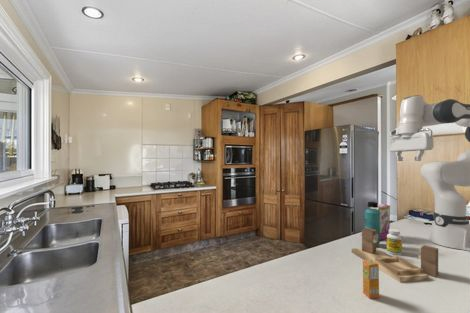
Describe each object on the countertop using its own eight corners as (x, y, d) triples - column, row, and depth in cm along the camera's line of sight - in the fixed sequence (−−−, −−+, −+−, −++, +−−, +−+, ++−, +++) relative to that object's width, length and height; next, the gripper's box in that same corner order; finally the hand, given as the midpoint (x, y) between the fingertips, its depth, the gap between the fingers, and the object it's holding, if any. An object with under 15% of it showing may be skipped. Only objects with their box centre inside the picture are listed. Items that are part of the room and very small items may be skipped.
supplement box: (361, 292, 70) (361, 259, 70) (372, 291, 71) (372, 259, 71) (368, 299, 67) (369, 264, 67) (379, 298, 67) (380, 264, 67)
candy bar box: (378, 241, 113) (379, 207, 113) (368, 238, 118) (368, 205, 118) (390, 237, 119) (390, 205, 119) (380, 234, 124) (380, 203, 123)
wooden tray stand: (374, 250, 102) (374, 226, 102) (428, 279, 78) (428, 248, 78) (351, 252, 100) (351, 227, 100) (399, 282, 76) (400, 250, 76)
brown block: (421, 268, 86) (421, 244, 86) (438, 273, 82) (438, 248, 82) (417, 271, 83) (418, 246, 83) (435, 277, 80) (435, 251, 80)
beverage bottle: (376, 242, 111) (376, 200, 111) (383, 248, 105) (383, 203, 105) (361, 241, 112) (362, 200, 112) (368, 247, 105) (368, 203, 105)
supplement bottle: (400, 251, 101) (401, 229, 101) (402, 256, 96) (402, 233, 96) (386, 249, 104) (386, 227, 104) (387, 253, 99) (387, 230, 99)
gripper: (438, 128, 97) (437, 161, 96) (398, 134, 117) (396, 161, 117) (425, 126, 96) (423, 160, 96) (387, 132, 116) (385, 160, 116)
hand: (408, 160), depth 106 cm, fingers open, 8 cm apart
